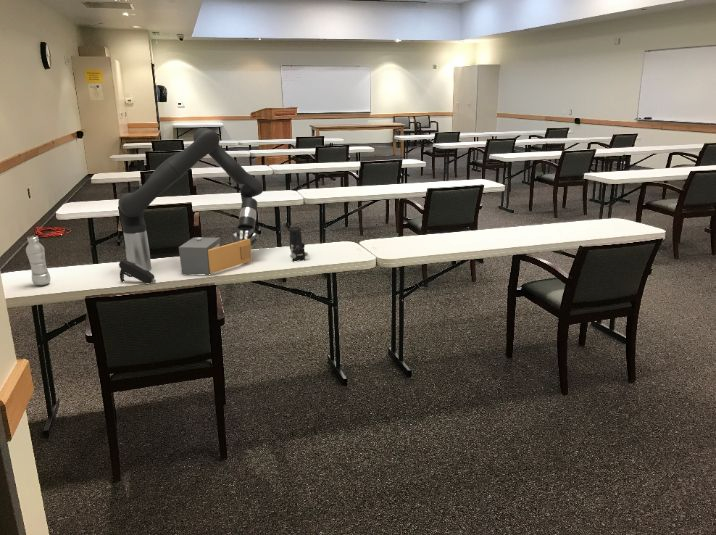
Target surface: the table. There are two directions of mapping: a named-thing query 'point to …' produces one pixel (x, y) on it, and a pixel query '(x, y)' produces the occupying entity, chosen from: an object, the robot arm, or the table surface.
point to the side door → (229, 255)
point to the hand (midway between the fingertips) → (242, 253)
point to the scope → (296, 244)
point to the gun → (135, 272)
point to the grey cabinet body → (197, 255)
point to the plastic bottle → (37, 261)
